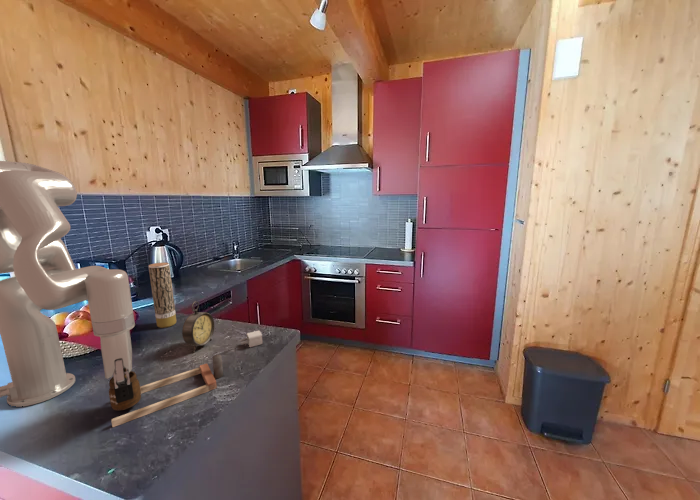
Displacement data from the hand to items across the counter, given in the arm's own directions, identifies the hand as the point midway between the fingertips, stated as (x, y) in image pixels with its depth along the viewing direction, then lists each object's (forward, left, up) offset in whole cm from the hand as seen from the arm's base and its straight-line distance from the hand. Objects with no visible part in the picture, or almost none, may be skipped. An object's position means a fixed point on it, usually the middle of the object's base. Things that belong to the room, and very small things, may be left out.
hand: (125, 392), depth 71 cm
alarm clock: (+20, +22, -5) cm, 30 cm away
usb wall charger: (+34, +12, -5) cm, 37 cm away
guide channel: (+10, 0, -4) cm, 11 cm away
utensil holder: (0, 0, -3) cm, 3 cm away
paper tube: (+13, +49, -4) cm, 51 cm away
